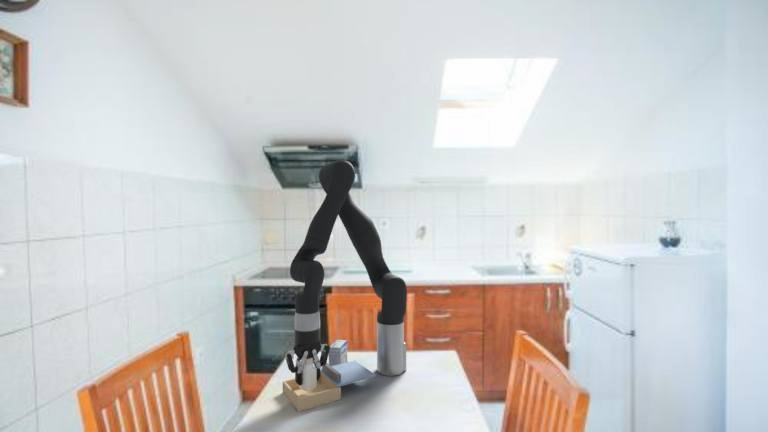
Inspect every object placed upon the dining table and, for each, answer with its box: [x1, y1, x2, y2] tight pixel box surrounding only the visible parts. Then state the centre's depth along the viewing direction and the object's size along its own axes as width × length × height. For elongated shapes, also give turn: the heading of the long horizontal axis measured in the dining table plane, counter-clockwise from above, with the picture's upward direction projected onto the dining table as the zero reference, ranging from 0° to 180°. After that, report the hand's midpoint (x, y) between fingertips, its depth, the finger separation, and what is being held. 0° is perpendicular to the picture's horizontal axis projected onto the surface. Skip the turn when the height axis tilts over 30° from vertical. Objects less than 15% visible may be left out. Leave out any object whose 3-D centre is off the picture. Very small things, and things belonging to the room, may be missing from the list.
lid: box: [320, 360, 376, 387], centre depth 130 cm, size 13×13×3 cm
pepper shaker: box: [299, 358, 317, 391], centre depth 123 cm, size 4×4×10 cm
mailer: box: [282, 373, 342, 412], centre depth 124 cm, size 13×13×4 cm
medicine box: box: [328, 339, 348, 366], centre depth 144 cm, size 8×4×9 cm, turn 168°
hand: (307, 381), depth 123 cm, fingers closed on pepper shaker, 4 cm apart
